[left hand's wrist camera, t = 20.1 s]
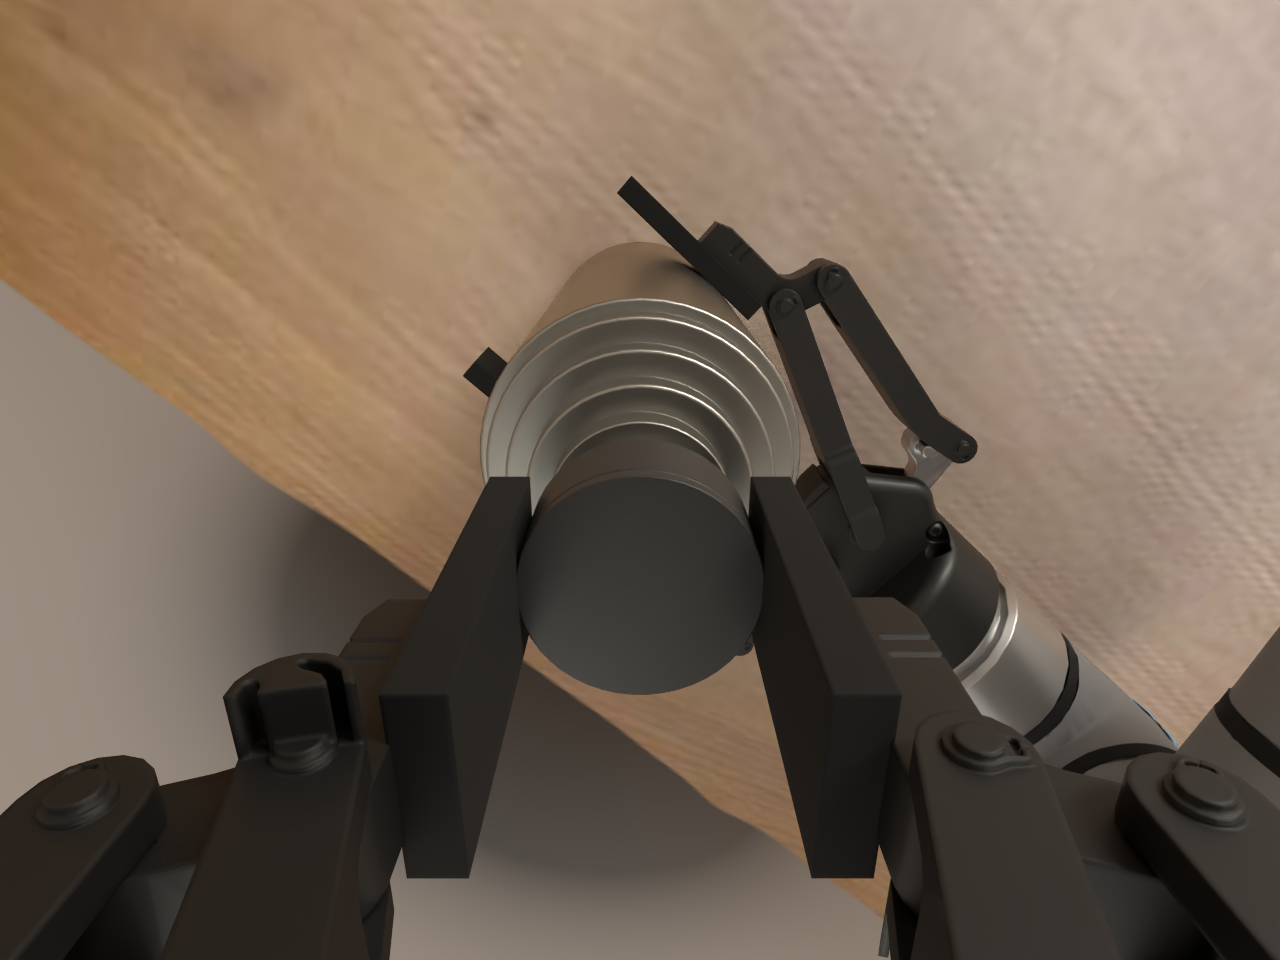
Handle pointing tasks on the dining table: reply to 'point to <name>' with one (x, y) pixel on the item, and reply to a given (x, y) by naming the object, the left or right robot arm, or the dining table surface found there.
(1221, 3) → the dining table surface
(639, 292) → the bottle
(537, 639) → the cap
